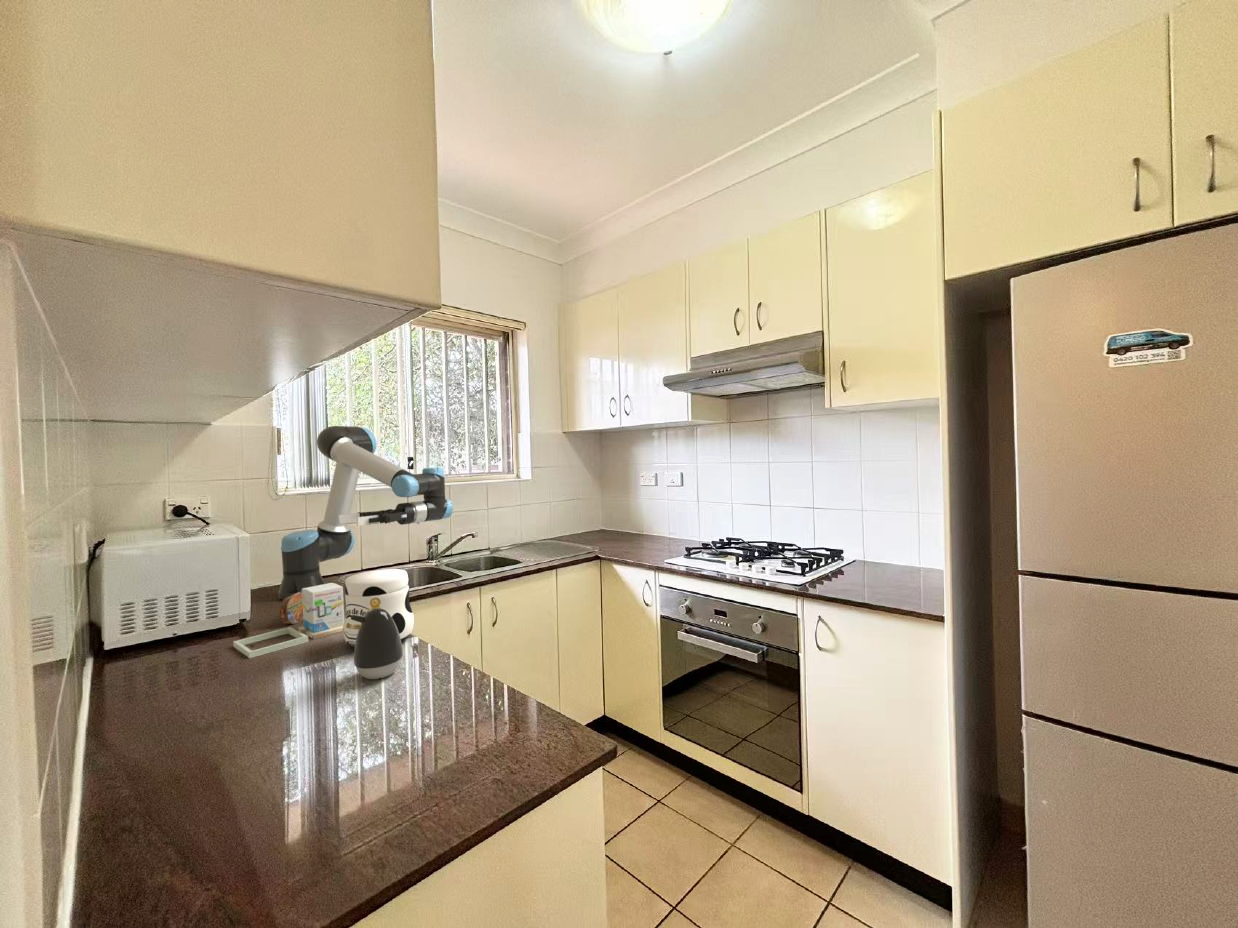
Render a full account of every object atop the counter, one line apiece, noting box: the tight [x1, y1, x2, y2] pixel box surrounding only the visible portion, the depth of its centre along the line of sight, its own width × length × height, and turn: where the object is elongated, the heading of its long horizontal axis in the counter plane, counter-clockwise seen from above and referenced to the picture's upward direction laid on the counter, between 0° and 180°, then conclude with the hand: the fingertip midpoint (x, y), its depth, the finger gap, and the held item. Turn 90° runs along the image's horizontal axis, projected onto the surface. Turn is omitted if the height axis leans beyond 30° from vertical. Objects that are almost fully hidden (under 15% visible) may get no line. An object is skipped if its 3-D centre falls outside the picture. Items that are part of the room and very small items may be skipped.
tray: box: [233, 626, 309, 659], centre depth 140 cm, size 14×14×2 cm
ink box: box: [302, 582, 345, 633], centre depth 150 cm, size 8×8×12 cm
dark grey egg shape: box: [351, 608, 404, 680], centre depth 117 cm, size 10×10×15 cm
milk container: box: [342, 568, 415, 649], centre depth 138 cm, size 17×17×18 cm
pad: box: [297, 625, 343, 640], centre depth 150 cm, size 12×10×1 cm
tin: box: [279, 591, 303, 625], centre depth 161 cm, size 15×3×8 cm, turn 179°
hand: (347, 520), depth 165 cm, fingers open, 13 cm apart
